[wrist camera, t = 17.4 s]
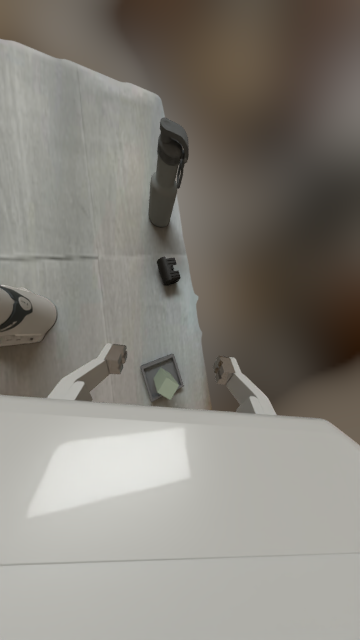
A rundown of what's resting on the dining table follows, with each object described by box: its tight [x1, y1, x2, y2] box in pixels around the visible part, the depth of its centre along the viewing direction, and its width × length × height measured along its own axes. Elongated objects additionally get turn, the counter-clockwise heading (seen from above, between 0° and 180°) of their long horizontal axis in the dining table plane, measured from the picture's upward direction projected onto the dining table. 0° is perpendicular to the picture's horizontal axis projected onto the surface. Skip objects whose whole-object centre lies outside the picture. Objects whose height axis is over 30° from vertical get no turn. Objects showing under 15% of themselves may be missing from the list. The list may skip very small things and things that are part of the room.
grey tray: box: [141, 354, 184, 402], centre depth 53 cm, size 14×14×3 cm
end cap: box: [157, 257, 180, 285], centre depth 56 cm, size 10×7×7 cm
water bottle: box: [149, 118, 188, 227], centre depth 47 cm, size 10×10×28 cm
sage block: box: [153, 367, 179, 400], centre depth 47 cm, size 5×5×13 cm
